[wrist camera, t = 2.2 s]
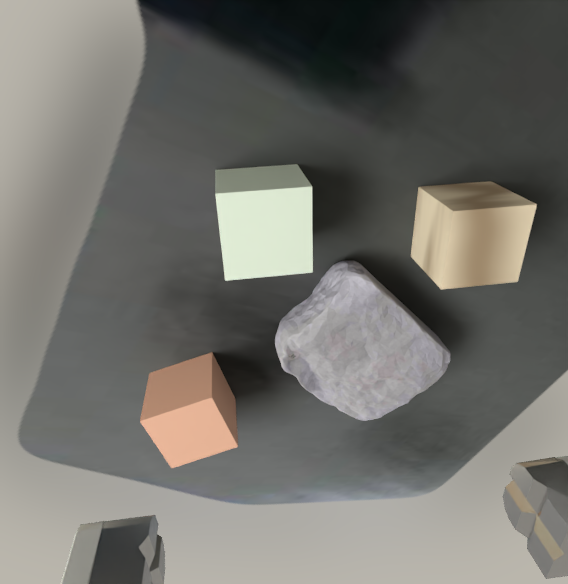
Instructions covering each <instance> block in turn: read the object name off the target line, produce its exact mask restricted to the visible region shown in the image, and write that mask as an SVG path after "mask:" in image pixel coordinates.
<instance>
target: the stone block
mask: <svg viewBox="0 0 568 584" xmlns="http://www.w3.org/2000/svg"><path fill="white" fill-rule="evenodd" d="M275 346H276V350H277V353H278V357H279V359H280V362H281V366H282V368H283V369H284V370H285V371H286V372H287V373H290V374H292V375H294V376H295V377H296V378H297V379H298V381H299V383H300V384H301V385H302V386H303V387H304V388H305V389H306V390H307V391H309V392H310V393H313V394H314V395H315V396H316V397H317V398H319V400H321V401H324V402H325V403H327V404H329V405H333V406H336V407H337V408H338V410H339V411H342V412H344V413H346V414H348V415H350V416H352V417H354V418H356V419H359V420H364V421H366V420H372V419H376V418H380V417H381V416H383V415H385V414H386V413H388V412H390V411H392V410H394V409H396V408H397V407H399V406H402V405H404V404H407V403H408V402H409V401H410V400H411V399H412V398H413V397H414V396H415V395H416V394H418V393H420V392H423V391H425V390H426V389H427V388H428V387H430V386H431V385H433V384H434V383H435V382H436V381H438V379H439V378H440V377H441V376H442V375H443V374H444V373H445V372H446V370H447V367H448V363H449V362H450V351H449V350H448V349H447V347H446V346H445V345H444V344H443V343H442V342H441V340H440V339H439V337H438V336H437V335H436V334H435V333H434V332H433V331H432V330H431V329H430V328H429V327H427V326H426V325H425V324H424V323H423V322H422V321H421V320H420V319H419V318H418V317H417V316H416V315H414V314H413V313H412V312H411V311H410V310H409V309H408V308H407V307H406V306H405V305H404V304H403V303H402V302H401V301H400V300H398V299H397V298H396V297H395V296H394V295H393V294H392V293H391V292H390V291H389V290H387V289H386V288H385V287H384V286H383V285H382V284H381V283H380V282H379V281H378V280H377V279H376V278H375V277H374V276H373V275H372V274H370V273H369V272H368V270H366V269H365V268H364V267H363V266H362V265H361V264H360V263H358V262H356V261H341V262H337V263H336V264H334V265H333V266H332V267H331V268H330V269H329V270H328V271H327V272H326V274H325V275H324V276H323V277H322V279H321V281H320V282H319V283H318V285H317V286H316V287H315V289H314V290H313V293H312V294H311V295H310V296H309V298H308V299H306V300H305V301H303V302H302V303H301V304H299V305H297V306H296V307H294V308H293V309H292V310H291V311H290V312H289V313H288V314H287V315H286V316H284V317H283V319H282V320H281V321H280V324H279V328H278V331H277V333H276V337H275Z"/></svg>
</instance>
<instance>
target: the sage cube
mask: <svg viewBox="0 0 568 584" xmlns="http://www.w3.org/2000/svg"><path fill="white" fill-rule="evenodd" d="M215 195H216V204H217V212H218V221H219V230H220V239H221V247H222V256H223V265H224V274H225V281H227V280H237V279H248V278H259V277H269V276H280V275H291V274H301V273H312V272H313V235H312V185H311V184H310V182H309V181H308V179H307V178H306V177H305V175H304V174H303V172H302V171H301V169H300V168H299V166H298V165H297V164H294V165H279V166H265V167H251V168H236V169H222V170H215Z"/></svg>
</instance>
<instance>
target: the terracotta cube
mask: <svg viewBox="0 0 568 584" xmlns="http://www.w3.org/2000/svg"><path fill="white" fill-rule="evenodd" d="M140 422H141V424H142V425H143V426H144V428H145V429H146V431H147V432H148V434H149V435H150V437H151V438H152V440H153V441H154V443H155V444H156V446H157V447H158V449H159V450H160V452H161V453H162V455H163V456H164V458H165V459H166V461H167V462H168V463H169V465H170V466H171V468H174V467H177V466H180V465H184V464H187V463H190V462H193V461H196V460H199V459H202V458H205V457H208V456H211V455H214V454H217V453H220V452H223V451H226V450H229V449H233V448H236V447H238V436H237V419H236V401H235V397H234V395H233V393H232V391H231V389H230V387H229V385H228V383H227V381H226V379H225V377H224V375H223V373H222V371H221V369H220V367H219V365H218V363H217V361H216V359H215V357H214V355H213V353H212V352H211V353H208V354H205V355H202V356H199V357H196V358H193V359H190V360H187V361H184V362H181V363H178V364H175V365H172V366H169V367H166V368H163V369H160V370H157V371H154V372H151V373H149V378H148V383H147V388H146V393H145V398H144V403H143V408H142V413H141V418H140Z"/></svg>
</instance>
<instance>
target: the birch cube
mask: <svg viewBox="0 0 568 584" xmlns="http://www.w3.org/2000/svg"><path fill="white" fill-rule="evenodd" d="M536 206H537V204H535V203H533V202H531V201H529V200H527V199H525V198H523V197H521V196H519V195H517V194H515V193H513V192H511V191H509V190H507V189H505V188H503V187H501V186H499V185H497V184H495V183H493V182H491V181H487V182H474V183H461V184H448V185H435V186H422V187H419V188H418V197H417V206H416V215H415V223H414V232H413V241H412V250H411V257H412V258H413V259H414V260H415V261H416V263H417V264H418V265H419V266H420V267H421V268H422V269H423V270H424V271H425V272H426V273H427V275H428V276H429V277H430V278H431V279H432V280H433V281H434V282H435V283H436V284H437V285H438V287H439V288H440V289H451V288H461V287H470V286H480V285H490V284H500V283H510V282H518V278H519V274H520V270H521V266H522V262H523V258H524V254H525V250H526V246H527V242H528V238H529V234H530V230H531V226H532V222H533V218H534V214H535V210H536Z"/></svg>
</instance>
